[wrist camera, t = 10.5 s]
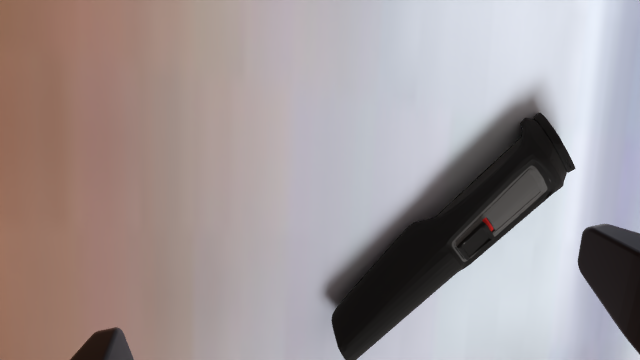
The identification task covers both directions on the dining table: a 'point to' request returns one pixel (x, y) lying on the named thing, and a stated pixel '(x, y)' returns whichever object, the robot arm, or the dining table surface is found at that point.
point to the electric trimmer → (452, 237)
